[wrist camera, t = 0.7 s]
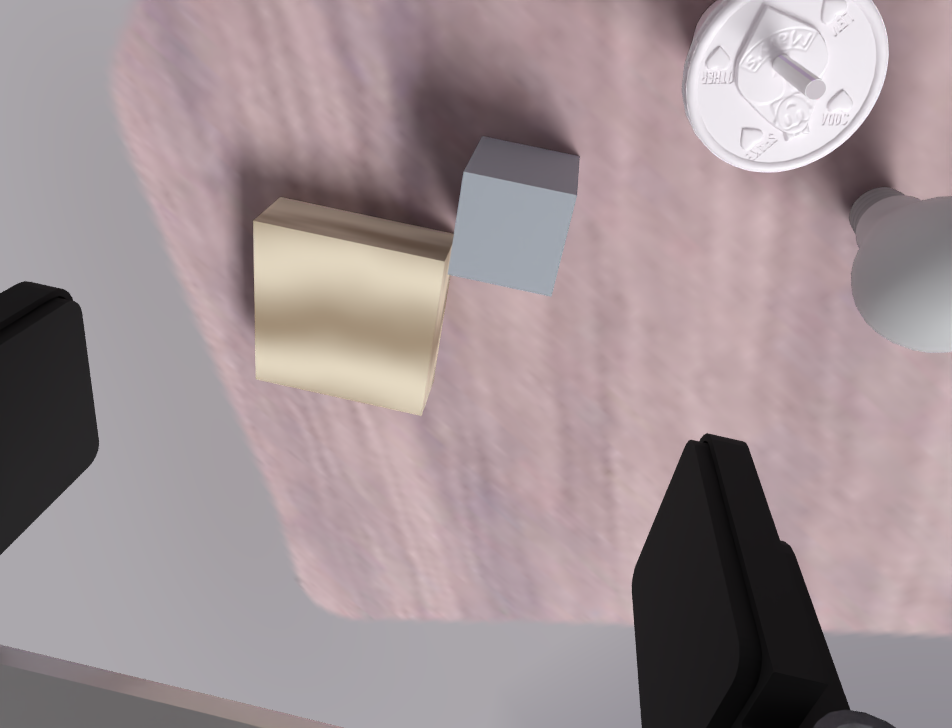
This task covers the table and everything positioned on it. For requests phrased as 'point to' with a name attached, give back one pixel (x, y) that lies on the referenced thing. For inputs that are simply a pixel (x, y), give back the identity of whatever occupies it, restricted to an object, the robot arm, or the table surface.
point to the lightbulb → (904, 268)
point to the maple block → (348, 303)
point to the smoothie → (783, 78)
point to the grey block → (514, 215)
